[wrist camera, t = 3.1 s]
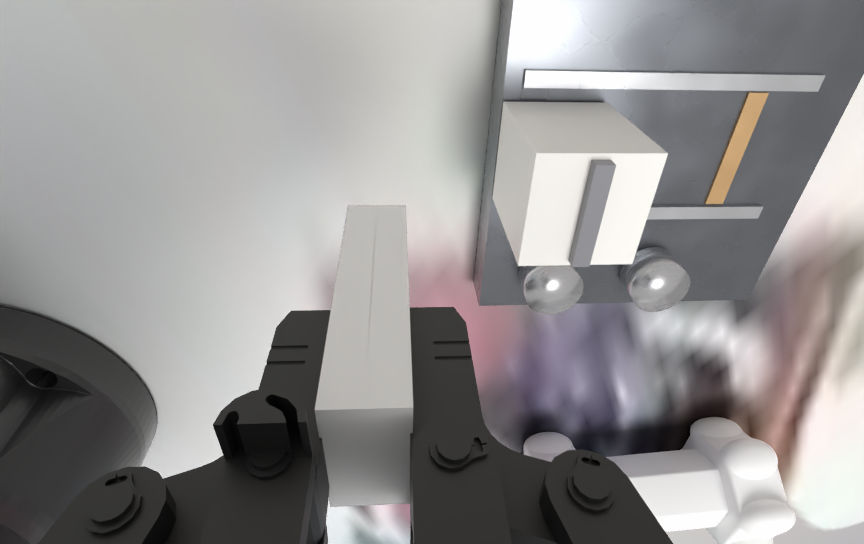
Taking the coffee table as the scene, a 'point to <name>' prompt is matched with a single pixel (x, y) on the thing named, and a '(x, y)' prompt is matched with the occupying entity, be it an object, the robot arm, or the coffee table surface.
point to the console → (679, 132)
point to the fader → (573, 183)
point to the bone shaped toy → (703, 482)
